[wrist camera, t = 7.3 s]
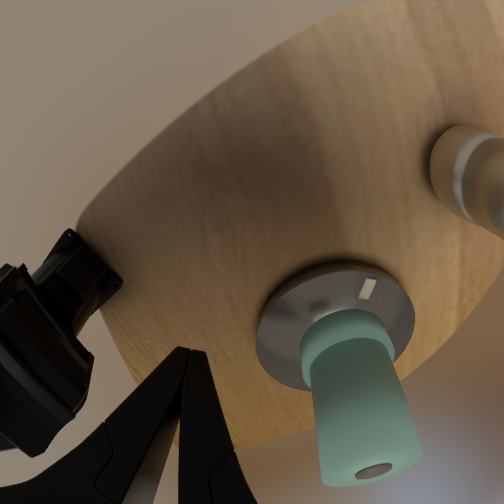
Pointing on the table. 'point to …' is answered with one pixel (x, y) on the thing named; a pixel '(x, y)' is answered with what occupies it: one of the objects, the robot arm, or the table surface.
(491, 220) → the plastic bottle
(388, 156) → the table surface
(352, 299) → the turntable
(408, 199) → the table surface
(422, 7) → the table surface
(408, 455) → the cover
